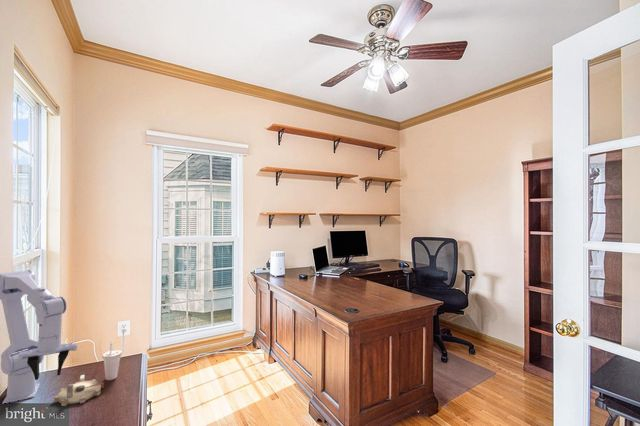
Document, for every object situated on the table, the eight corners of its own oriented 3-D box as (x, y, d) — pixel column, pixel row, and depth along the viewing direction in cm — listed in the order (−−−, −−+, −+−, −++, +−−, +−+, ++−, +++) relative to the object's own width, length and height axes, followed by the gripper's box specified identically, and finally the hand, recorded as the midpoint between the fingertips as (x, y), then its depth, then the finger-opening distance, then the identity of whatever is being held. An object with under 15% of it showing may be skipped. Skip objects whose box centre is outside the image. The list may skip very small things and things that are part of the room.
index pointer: (80, 381, 117) (80, 375, 117) (84, 380, 117) (84, 374, 118) (79, 385, 114) (80, 378, 114) (83, 384, 115) (84, 378, 115)
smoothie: (100, 377, 120) (101, 341, 121) (119, 371, 125) (120, 337, 125) (102, 383, 116) (104, 347, 116) (122, 378, 120) (123, 342, 120)
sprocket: (76, 382, 115) (77, 368, 116) (112, 383, 115) (113, 369, 115) (43, 404, 102) (43, 388, 102) (83, 406, 101) (84, 389, 102)
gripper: (16, 344, 94) (14, 388, 94) (76, 334, 102) (74, 375, 102) (22, 336, 100) (20, 378, 99) (78, 328, 108) (76, 366, 108)
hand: (48, 376), depth 101 cm, fingers open, 5 cm apart
